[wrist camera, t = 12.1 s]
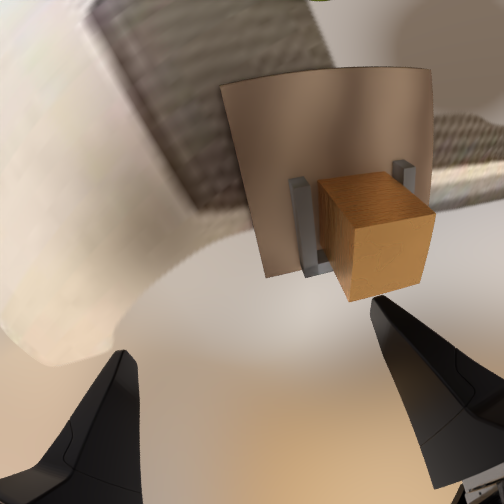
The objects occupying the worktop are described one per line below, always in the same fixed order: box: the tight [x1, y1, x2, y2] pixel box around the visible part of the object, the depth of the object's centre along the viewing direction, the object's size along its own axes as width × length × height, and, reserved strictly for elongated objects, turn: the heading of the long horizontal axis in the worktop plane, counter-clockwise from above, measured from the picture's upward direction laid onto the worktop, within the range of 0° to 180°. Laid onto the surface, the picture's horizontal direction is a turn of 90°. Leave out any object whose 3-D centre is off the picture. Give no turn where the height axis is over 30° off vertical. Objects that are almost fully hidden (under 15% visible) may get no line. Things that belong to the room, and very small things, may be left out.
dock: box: [220, 67, 433, 278], centre depth 18 cm, size 14×14×3 cm
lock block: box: [317, 171, 436, 302], centre depth 17 cm, size 5×5×6 cm
